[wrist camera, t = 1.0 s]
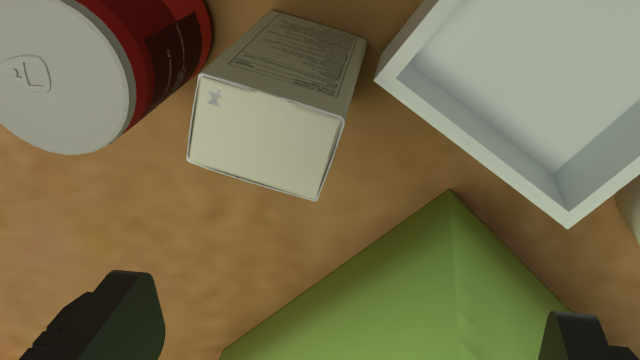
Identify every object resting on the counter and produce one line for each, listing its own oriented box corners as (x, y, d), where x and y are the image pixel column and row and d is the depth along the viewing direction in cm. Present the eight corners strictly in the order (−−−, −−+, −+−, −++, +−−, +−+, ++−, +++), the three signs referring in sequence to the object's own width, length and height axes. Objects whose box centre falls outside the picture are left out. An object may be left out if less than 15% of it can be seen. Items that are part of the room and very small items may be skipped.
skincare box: (255, 74, 33) (176, 161, 23) (270, 6, 31) (189, 68, 21) (352, 106, 33) (317, 208, 23) (374, 40, 31) (346, 119, 20)
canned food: (75, -25, 32) (-72, 11, 23) (191, -57, 30) (82, -32, 21) (124, 92, 36) (14, 167, 26) (232, 71, 33) (155, 144, 24)
